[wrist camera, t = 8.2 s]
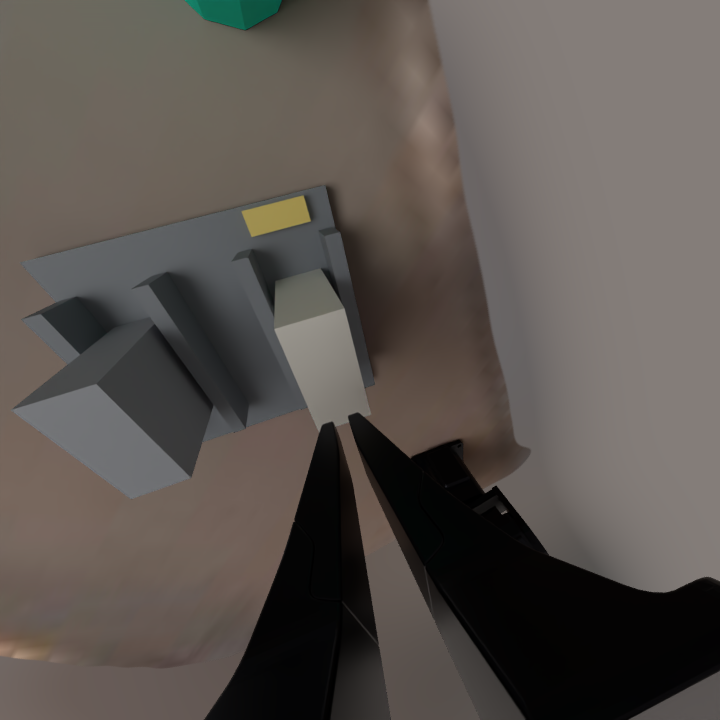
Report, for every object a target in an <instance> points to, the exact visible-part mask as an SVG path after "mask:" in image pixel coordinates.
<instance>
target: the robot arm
mask: <svg viewBox="0 0 720 720" xmlns="http://www.w3.org/2000/svg"><path fill="white" fill-rule="evenodd" d="M348 420H349V423H350V426H351V429H352V433H353V436H354V439H355V442H356V445H357V448H358V451H359V454H360V457H361V460H362V462H363V465H364V468H365V471H366V474H367V477H368V479H369V481H370V483H371V486H372V488H373V490H374V492H375V494H376V496H377V498H378V501H379V503H380V505H381V507H382V509H383V511H384V513H385V516H386V518H387V520H388V522H389V524H390V526H391V528H392V531H393V533H394V535H395V537H396V539H397V541H398V544H399V546H400V547H401V550H402V552H403V554H404V556H405V559H406V560H407V563H408V565H409V567H410V569H411V571H412V574H413V576H414V578H415V580H416V582H417V584H418V586H419V588H420V591H421V593H422V595H423V597H424V599H425V601H426V604H427V606H428V608H429V610H430V612H431V614H432V617H433V618H434V620H435V623H436V625H437V627H438V629H439V632H440V634H441V635H442V638H443V640H444V642H445V645H446V647H447V649H448V651H449V653H450V655H451V657H452V659H453V662H454V664H455V666H456V668H457V670H458V672H459V675H460V677H461V679H462V681H463V683H464V685H465V687H466V689H467V692H468V694H469V696H470V698H471V700H472V702H473V705H474V707H475V709H476V711H477V713H478V715H479V718H480V720H720V581H718V580H716V579H713V578H711V577H704V578H700V579H697V580H695V581H693V582H691V583H688V584H686V585H684V586H682V587H680V588H678V589H676V590H674V591H670V592H666V593H662V592H660V593H659V592H649V591H643V590H638V589H635V588H632V587H629V586H626V585H623V584H620V583H618V582H616V581H613V580H610V579H608V578H605V577H603V576H600V575H598V574H595V573H593V572H590V571H587V570H585V569H582V568H580V567H577V566H574V565H572V564H569V563H567V562H564V561H562V560H559V559H556V558H554V557H551V556H549V554H548V553H547V551H546V550H545V548H544V547H543V546H542V544H541V543H540V541H539V540H538V539H537V537H536V536H535V535H534V533H533V532H532V531H531V529H530V528H529V527H528V525H527V524H526V523H525V521H524V520H523V519H522V518H521V516H520V515H519V514H518V513H517V512H516V510H515V509H514V507H513V506H512V505H511V504H510V503H509V501H508V500H507V498H506V497H505V496H504V495H503V493H502V492H501V491H500V490H499V488H498V487H497V486H495V487H493V488H492V490H490V491H489V492H487V493H485V492H484V491H483V490H482V488H481V487H480V485H479V484H478V482H477V481H476V479H475V478H474V477H473V475H472V474H471V472H470V471H469V469H468V468H467V467H466V465H465V464H464V462H463V443H462V442H461V441H460V440H458V441H455V442H452V443H450V444H447V445H444V446H442V447H439V448H436V449H434V450H431V451H428V452H426V453H423V454H421V455H418V456H415V457H413V458H411V459H410V458H409V457H408V456H407V455H406V454H405V453H403V452H402V451H401V450H400V449H399V448H398V447H397V446H396V445H395V444H393V443H392V442H391V441H390V440H389V439H388V438H387V437H386V436H385V435H383V434H382V433H381V432H380V431H379V430H378V429H377V428H376V427H375V426H373V425H372V424H371V423H370V422H369V421H368V420H367V419H366V418H365V417H363V416H362V415H361V414H360V413H359V412H356V413H353V414H351V415H348ZM505 510H506V511H507V513H505V514H503V515H502V514H501V513H502V512H504V511H505ZM294 521H295V522H293V525H292V528H291V532H290V535H289V538H288V542H287V545H286V548H285V551H284V554H283V557H282V560H281V562H280V565H279V568H278V570H277V573H276V576H275V578H274V581H273V584H272V586H271V589H270V591H269V594H268V596H267V599H266V601H265V604H264V606H263V609H262V611H261V614H260V616H259V619H258V621H257V624H256V626H255V629H254V631H253V634H252V636H251V639H250V641H249V644H248V646H247V649H246V651H245V654H244V656H243V657H242V660H241V662H240V664H239V666H238V668H237V669H236V671H235V673H234V675H233V677H232V678H231V680H230V682H229V684H228V685H227V687H226V688H225V690H224V691H223V693H222V694H221V696H220V697H219V699H218V700H217V702H216V703H215V705H214V706H213V708H212V709H211V710H210V712H209V713H208V715H207V716H206V718H205V719H204V720H391V717H390V711H389V706H388V698H387V692H386V686H385V680H384V674H383V668H382V661H381V655H380V649H379V646H378V644H379V643H378V637H377V631H376V624H375V618H374V612H373V606H372V601H371V593H370V588H369V581H368V576H367V569H366V563H365V556H364V550H363V544H362V538H361V531H360V525H359V519H358V513H357V507H356V500H355V494H354V488H353V483H352V478H351V474H350V471H349V468H348V464H347V461H346V457H345V454H344V450H343V447H342V443H341V440H340V437H339V434H338V432H337V429H336V427H335V424H334V422H333V421H331V422H328V423H325V424H323V425H322V426H321V429H320V433H319V436H318V440H317V443H316V446H315V450H314V453H313V457H312V460H311V464H310V467H309V470H308V474H307V477H306V481H305V484H304V488H303V491H302V494H301V498H300V501H299V505H298V508H297V512H296V515H295V518H294Z"/></svg>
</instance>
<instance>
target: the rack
mask: <svg viewBox="0 0 720 720" xmlns="http://www.w3.org/2000/svg"><path fill="white" fill-rule="evenodd" d="M20 264H21V265H22V266H23V267H24V268H25V269H26V270H27V271H28V272H29V273H30V274H31V276H32V277H33V278H34V279H35V280H36V281H37V282H38V283H39V284H40V285H41V286H42V288H43V289H44V290H45V291H46V292H47V293H48V294H49V295H50V296H51V297H52V298H53V300H54V301H55V302H56V303H54V304H52V305H50V306H48V307H46V308H44V309H42V310H40V311H38V312H36V313H34V314H31V315H29V316H27V317H25V318H23V319H21V320H22V321H23V322H24V323H25V324H26V325H27V326H28V327H29V328H30V329H31V330H32V331H33V332H35V333H36V334H37V335H38V336H39V337H40V338H41V339H42V340H43V341H44V342H45V343H46V344H47V345H48V346H49V347H50V348H51V349H52V350H53V351H54V352H55V353H56V354H57V355H58V356H59V357H60V358H61V359H62V360H64V361H65V362H66V363H67V364H68V365H67V366H65V367H64V368H63V369H62V370H60V371H59V372H58V373H57V374H55V375H54V376H53V377H52V378H50V379H49V380H48V381H47V382H45V383H44V384H43V385H42V386H40V387H39V388H38V389H37V390H35V391H34V392H33V393H32V394H30V395H29V396H28V397H27V398H25V399H24V400H23V401H22V402H20V403H19V404H18V405H17V406H15V407H14V408H13V409H12V410H11V411H13V412H14V413H15V414H17V415H18V416H19V417H21V418H22V419H23V420H25V421H26V422H27V423H29V424H30V425H32V426H33V427H34V428H36V429H37V430H38V431H40V432H41V433H42V434H44V435H45V436H46V437H48V438H49V439H50V440H52V441H53V442H54V443H56V444H57V445H59V446H60V447H61V448H63V449H64V450H65V451H67V452H68V453H69V454H71V455H72V456H73V457H75V458H76V459H77V460H79V461H80V462H82V463H83V464H84V465H86V466H87V467H88V468H90V469H91V470H92V471H94V472H95V473H96V474H98V475H99V476H100V477H102V478H103V479H105V480H106V481H107V482H109V483H110V484H111V485H113V486H114V487H115V488H117V489H118V490H119V491H121V492H122V493H123V494H125V495H126V496H127V497H129V498H130V499H133V498H136V497H139V496H141V495H144V494H147V493H150V492H153V491H156V490H158V489H161V488H164V487H167V486H170V485H173V484H175V483H178V482H181V481H184V480H187V479H190V478H191V477H192V474H193V471H194V467H195V464H196V461H197V458H198V454H199V451H200V448H201V445H202V442H204V441H207V440H210V439H213V438H216V437H219V436H222V435H225V434H228V433H231V432H234V433H235V432H238V431H240V430H243V429H246V427H249V426H251V425H254V424H257V423H260V422H263V421H266V420H269V419H272V418H275V417H278V416H281V415H284V414H287V413H290V412H293V411H295V410H298V409H301V410H302V409H305V408H308V406H307V404H306V402H305V399H304V397H303V395H302V392H301V390H300V388H299V386H298V383H297V381H296V379H295V376H294V374H293V372H292V369H291V367H290V365H289V362H288V360H287V358H286V356H285V353H284V351H283V349H282V346H281V344H280V342H279V339H278V337H277V335H276V333H275V330H274V314H275V281H277V280H280V279H284V278H288V277H291V276H295V275H298V274H302V273H306V272H309V271H313V270H316V269H320V268H321V270H322V271H323V273H324V275H325V276H326V278H327V280H328V281H329V283H330V285H331V287H332V288H333V290H334V292H335V293H336V295H337V297H338V298H339V300H340V302H341V303H342V305H343V307H344V308H345V312H346V316H347V320H348V324H349V328H350V332H351V336H352V340H353V344H354V348H355V352H356V356H357V360H358V364H359V368H360V372H361V376H362V380H363V384H364V388H366V387H369V386H372V385H375V382H374V378H373V373H372V369H371V365H370V360H369V356H368V351H367V347H366V343H365V338H364V334H363V330H362V325H361V321H360V317H359V312H358V308H357V303H356V299H355V295H354V290H353V286H352V282H351V277H350V273H349V269H348V264H347V260H346V255H345V251H344V247H343V242H342V238H341V234H340V232H339V231H338V230H336V229H335V224H334V220H333V216H332V212H331V207H330V203H329V199H328V195H327V190H326V186H325V185H323V186H319V187H316V188H312V189H308V190H304V191H300V192H296V193H292V194H288V195H284V196H280V197H276V198H272V199H268V200H264V201H260V202H256V203H253V204H249V205H245V206H241V207H237V208H233V209H229V210H225V211H221V212H217V213H213V214H209V215H205V216H201V217H197V218H194V219H190V220H186V221H182V222H178V223H174V224H170V225H166V226H162V227H158V228H154V229H150V230H146V231H142V232H138V233H134V234H131V235H127V236H123V237H119V238H115V239H111V240H107V241H103V242H99V243H95V244H91V245H87V246H83V247H79V248H75V249H72V250H68V251H64V252H60V253H56V254H52V255H48V256H44V257H40V258H36V259H32V260H28V261H24V262H20Z"/></svg>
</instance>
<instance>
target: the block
mask: <svg viewBox="0 0 720 720" xmlns="http://www.w3.org/2000/svg"><path fill="white" fill-rule="evenodd" d="M274 330H275V333H276V335H277V337H278V339H279V342H280V344H281V346H282V349H283V351H284V353H285V356H286V358H287V360H288V362H289V365H290V367H291V369H292V372H293V374H294V376H295V379H296V381H297V383H298V386H299V388H300V390H301V392H302V395H303V397H304V399H305V402H306V404H307V406H308V409H309V411H310V413H311V416H312V418H313V420H314V422H315V425H316V427H317V429H318V432H320V429H321V426H322V425H323V424H325V423H328V422H331V421H333V422H334V424H335V427H337V426H340V425H342V424H345V423H348V422H349V420H348V415H351V414H353V413H356V412H359V413H360V414H361V415H362V416H363V417H366V416H368V415H371V412H370V408H369V404H368V400H367V396H366V392H365V388H364V384H363V380H362V376H361V372H360V368H359V364H358V360H357V356H356V352H355V348H354V344H353V340H352V336H351V332H350V328H349V324H348V320H347V316H346V312H345V308H344V307H343V305H342V303H341V302H340V300H339V298H338V297H337V295H336V293H335V292H334V290H333V288H332V287H331V285H330V283H329V281H328V280H327V278H326V276H325V275H324V273H323V271H322V270H321V268H320V269H316V270H313V271H309V272H306V273H302V274H298V275H295V276H291V277H288V278H284V279H280V280H277V281H275V314H274Z"/></svg>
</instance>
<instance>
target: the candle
mask: <svg viewBox="0 0 720 720" xmlns="http://www.w3.org/2000/svg"><path fill="white" fill-rule="evenodd" d="M185 1H186V2H187V3H188V4H189V5H190V6H191V7H192V8H193V9H194V10H195V11H196V12H197V13H198V14H200V15H201V16H202V17H203V18H204V19H206V20H209V21H213V22H217V23H220V24H224V25H228V26H232V27H235V28H239V29H243V30H246V29H248V28H250V27H252V26H254V25H255V24H257V23H259V22H261V21H263V20H264V19H266V18H268V17H270V16H272V15H273V14H275V13H277V12H278V9H279V7H280V4H281V2H282V0H185Z"/></svg>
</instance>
